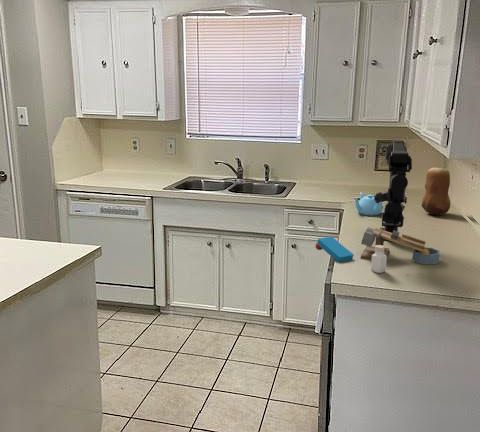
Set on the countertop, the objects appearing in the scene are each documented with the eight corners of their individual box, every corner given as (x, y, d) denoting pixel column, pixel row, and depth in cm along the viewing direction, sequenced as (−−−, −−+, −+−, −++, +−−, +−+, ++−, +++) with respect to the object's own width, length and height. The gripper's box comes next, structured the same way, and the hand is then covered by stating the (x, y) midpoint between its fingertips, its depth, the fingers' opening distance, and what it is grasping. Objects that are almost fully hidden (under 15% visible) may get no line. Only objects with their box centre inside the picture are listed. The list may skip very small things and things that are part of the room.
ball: (431, 249, 187) (427, 258, 188) (420, 245, 188) (417, 254, 189) (430, 252, 183) (427, 261, 184) (419, 248, 184) (416, 258, 186)
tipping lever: (364, 237, 199) (370, 221, 196) (420, 256, 191) (426, 239, 189) (360, 244, 191) (366, 226, 188) (418, 263, 183) (424, 246, 181)
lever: (349, 269, 191) (323, 246, 205) (353, 254, 188) (326, 231, 202) (335, 272, 188) (309, 248, 202) (339, 257, 185) (312, 234, 199)
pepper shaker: (386, 271, 175) (388, 246, 173) (379, 274, 173) (380, 248, 171) (377, 268, 178) (378, 243, 176) (370, 270, 176) (371, 245, 174)
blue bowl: (413, 254, 193) (414, 245, 192) (439, 257, 189) (440, 248, 188) (411, 262, 184) (411, 253, 183) (438, 265, 180) (439, 256, 179)
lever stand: (366, 248, 202) (367, 225, 200) (389, 250, 198) (390, 227, 196) (360, 258, 190) (361, 234, 187) (384, 261, 186) (385, 236, 184)
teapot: (386, 212, 264) (387, 193, 261) (380, 218, 251) (381, 198, 248) (359, 209, 270) (360, 191, 268) (352, 215, 257) (353, 196, 255)
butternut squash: (444, 211, 262) (448, 165, 256) (452, 217, 249) (457, 169, 243) (418, 211, 264) (421, 165, 258) (424, 217, 251) (428, 169, 245)
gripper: (379, 180, 197) (377, 217, 201) (372, 188, 180) (370, 228, 184) (408, 181, 192) (405, 219, 196) (403, 190, 176) (400, 231, 180)
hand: (394, 224), depth 189 cm, fingers closed
